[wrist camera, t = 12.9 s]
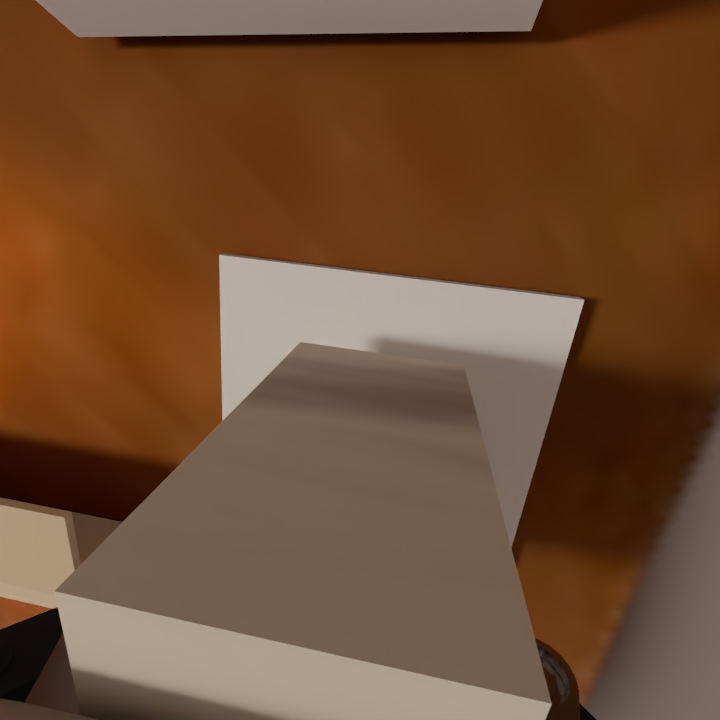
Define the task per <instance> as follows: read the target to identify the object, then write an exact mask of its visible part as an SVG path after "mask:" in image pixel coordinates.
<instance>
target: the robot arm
mask: <svg viewBox="0 0 720 720" xmlns="http://www.w3.org/2000/svg"><path fill="white" fill-rule="evenodd" d="M535 641H536V645H537V649H538V652H539V656H540V660H541V664H542V668H543V672H544V675H545V679H546V683H547V687H548V691H549V695H550V699H551V702H552V705H551V707H550V709H549V712H548V714H547V717H546V719H545V720H596V719H595V718H594V717H593V716H592V715H591V714H590V713H589V712H588V711H587V710H586V709H585V708H584V707H583V706H582V705H581V704H580V702H579V690H578V685H577V680H576V678H575V676H574V674H573V672H572V670H571V668H570V666H569V665H568V664H567V662H566V661H565V660H564V659H563V657H562V656H561V655H560V654H559V653H558V652H556V651H555V650H554V649H553V648H552V647H551V646H549V645H547V644H546V643H544V642H542V641H540V640H538V639H535ZM0 720H98V719H94V718H90V717H85V716H81V713H80V708H79V704H78V699H77V694H76V690H75V685H74V680H73V676H72V671H71V667H70V662H69V657H68V653H67V648H66V643H65V639H64V634H63V629H62V625H61V620H60V616H59V611H58V607H57V608H54V609H52V610H49V611H47V612H44V613H41V614H39V615H36V616H34V617H31V618H29V619H26V620H24V621H21V622H19V623H16V624H13V625H11V626H8V627H6V628H3V629H1V630H0Z"/></svg>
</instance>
